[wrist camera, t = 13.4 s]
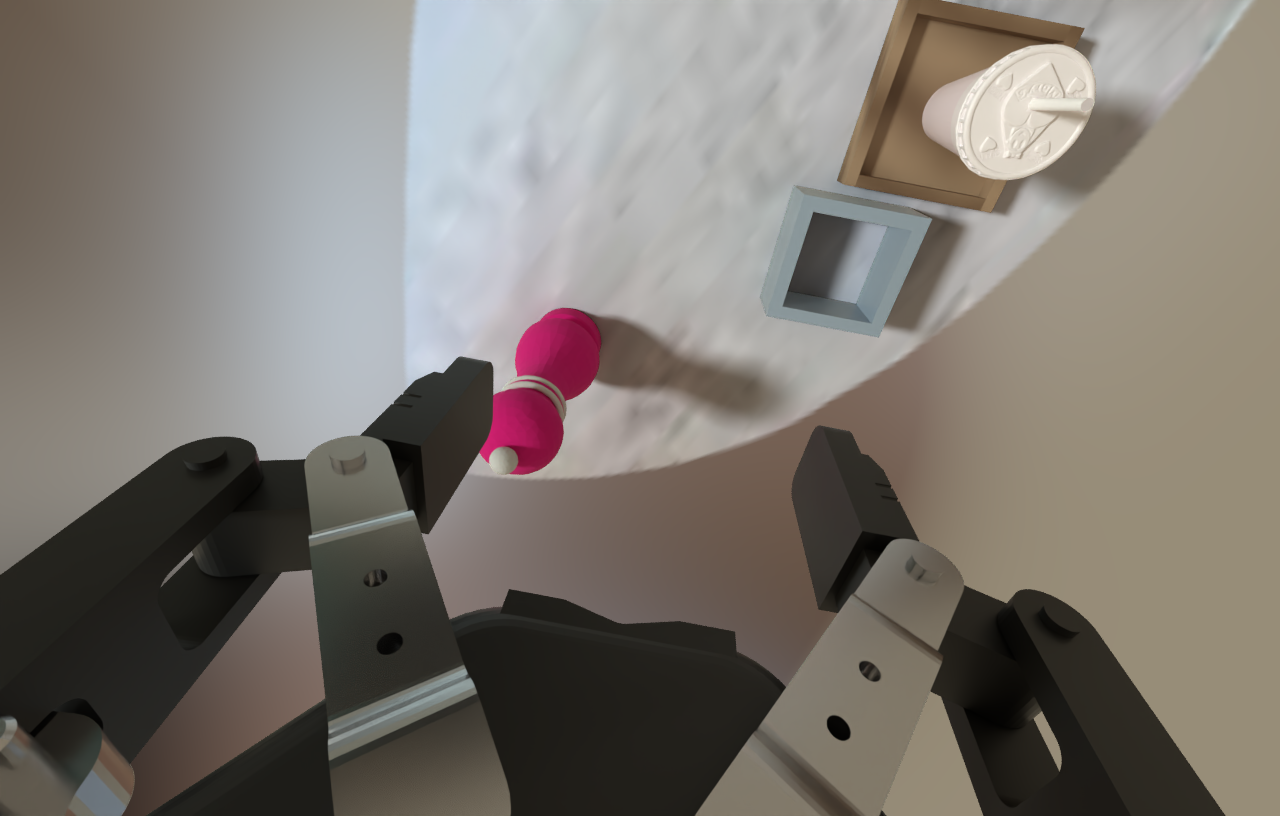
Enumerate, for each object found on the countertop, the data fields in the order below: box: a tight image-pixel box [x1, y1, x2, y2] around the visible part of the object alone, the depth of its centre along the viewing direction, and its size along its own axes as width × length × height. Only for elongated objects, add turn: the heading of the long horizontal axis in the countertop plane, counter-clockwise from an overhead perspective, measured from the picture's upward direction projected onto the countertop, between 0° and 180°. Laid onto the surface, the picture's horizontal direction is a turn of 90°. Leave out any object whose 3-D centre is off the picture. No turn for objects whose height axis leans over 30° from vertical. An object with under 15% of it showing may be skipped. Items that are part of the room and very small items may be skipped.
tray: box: [837, 0, 1085, 213], centre depth 35 cm, size 11×11×2 cm
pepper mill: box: [480, 308, 601, 475], centre depth 40 cm, size 7×7×20 cm
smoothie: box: [922, 44, 1096, 180], centre depth 29 cm, size 6×6×14 cm
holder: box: [760, 185, 932, 337], centre depth 40 cm, size 9×9×4 cm
